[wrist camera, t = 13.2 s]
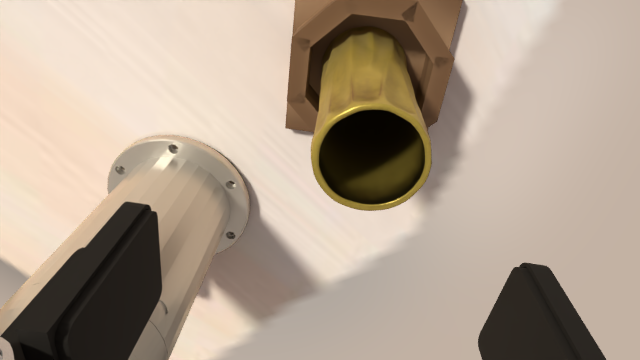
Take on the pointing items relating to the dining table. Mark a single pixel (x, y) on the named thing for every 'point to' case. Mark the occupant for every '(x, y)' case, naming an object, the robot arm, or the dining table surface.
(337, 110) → the vase
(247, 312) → the dining table surface
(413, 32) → the collar
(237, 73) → the dining table surface
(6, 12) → the dining table surface
